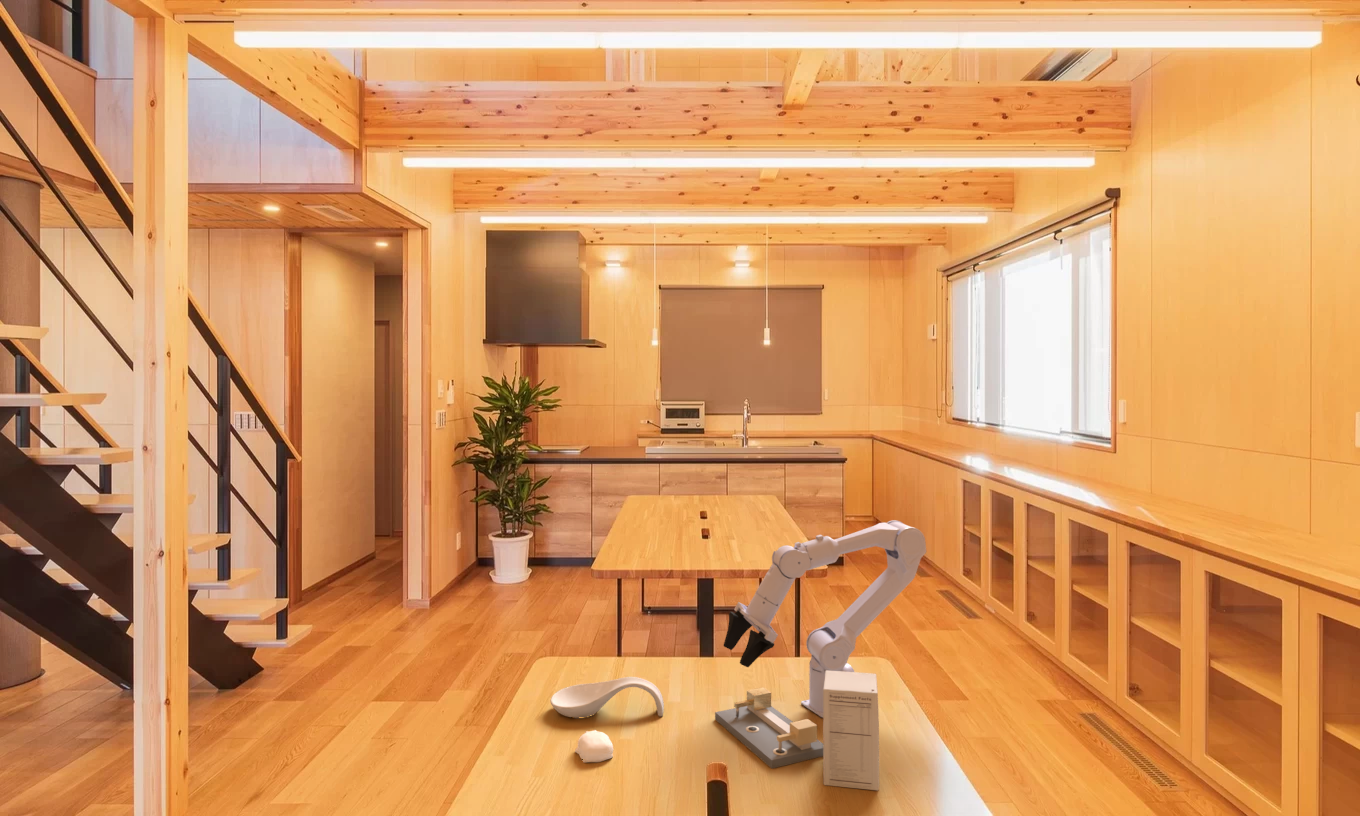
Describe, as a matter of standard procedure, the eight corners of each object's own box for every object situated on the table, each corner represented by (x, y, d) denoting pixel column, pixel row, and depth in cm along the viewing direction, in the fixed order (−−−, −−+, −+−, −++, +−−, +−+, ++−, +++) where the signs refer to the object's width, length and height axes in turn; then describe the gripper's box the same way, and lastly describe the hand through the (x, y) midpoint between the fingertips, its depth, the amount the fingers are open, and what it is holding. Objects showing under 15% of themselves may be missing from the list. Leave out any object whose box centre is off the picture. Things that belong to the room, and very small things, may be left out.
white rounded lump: (572, 748, 143) (572, 728, 143) (606, 742, 146) (606, 723, 146) (581, 768, 136) (581, 747, 136) (618, 761, 138) (618, 741, 138)
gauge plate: (765, 708, 160) (765, 682, 160) (827, 754, 140) (827, 724, 140) (715, 719, 155) (715, 691, 155) (771, 768, 135) (771, 737, 135)
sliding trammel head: (763, 707, 157) (763, 687, 157) (771, 712, 154) (771, 692, 154) (731, 713, 154) (731, 693, 154) (738, 719, 151) (739, 698, 151)
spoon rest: (545, 725, 153) (545, 690, 153) (555, 701, 165) (555, 668, 165) (662, 725, 153) (662, 690, 153) (664, 701, 165) (664, 668, 165)
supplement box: (878, 765, 136) (878, 672, 136) (879, 792, 127) (880, 693, 127) (824, 759, 139) (824, 668, 138) (822, 785, 130) (822, 688, 129)
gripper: (737, 578, 163) (706, 634, 163) (771, 606, 150) (736, 666, 149) (761, 590, 166) (731, 645, 166) (796, 619, 153) (763, 678, 152)
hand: (735, 656), depth 158 cm, fingers open, 7 cm apart
